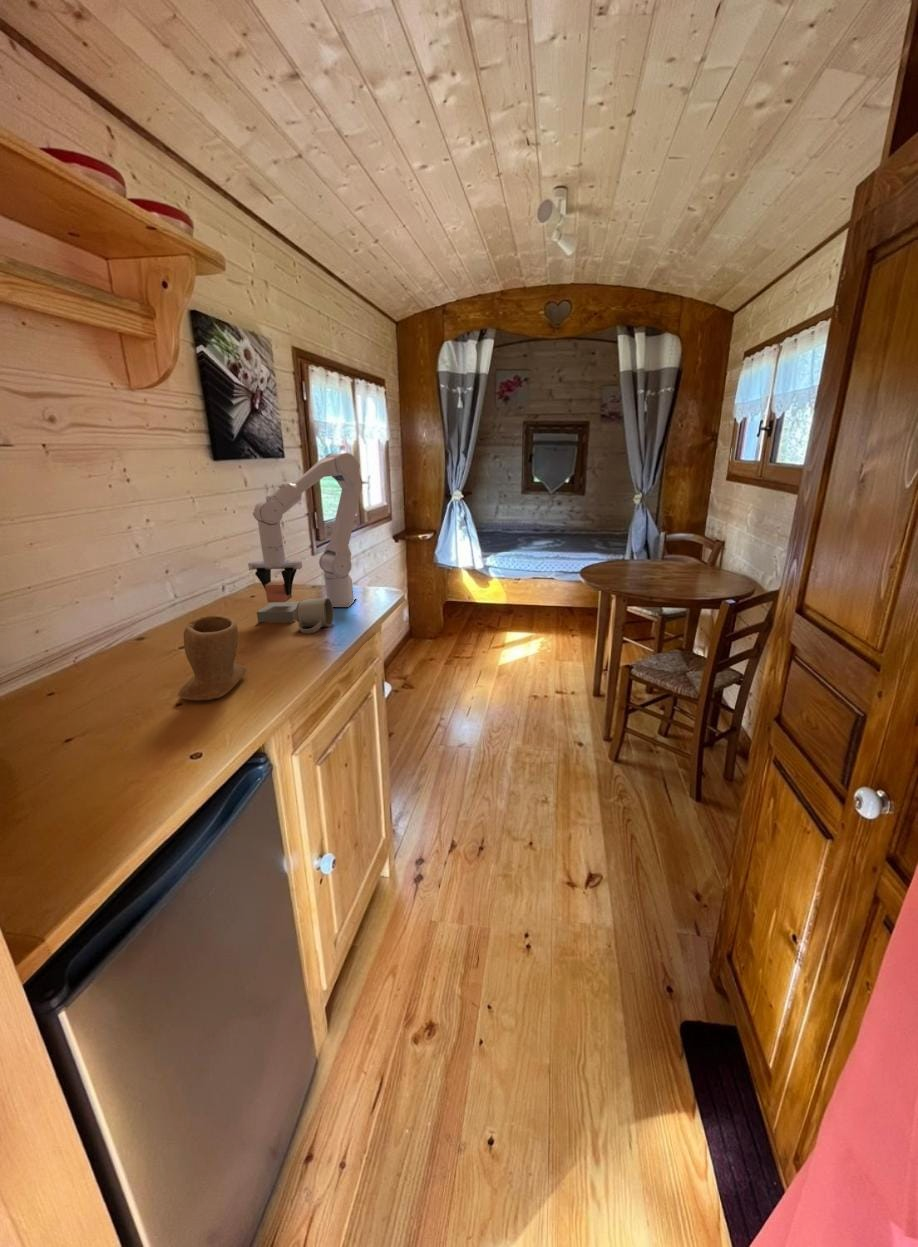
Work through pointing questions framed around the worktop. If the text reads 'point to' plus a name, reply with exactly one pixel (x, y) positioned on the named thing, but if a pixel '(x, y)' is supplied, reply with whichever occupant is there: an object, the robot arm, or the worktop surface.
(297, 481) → the robot arm
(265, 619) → the grey block
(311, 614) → the ceramic mug
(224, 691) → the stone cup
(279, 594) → the red cube
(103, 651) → the worktop surface
